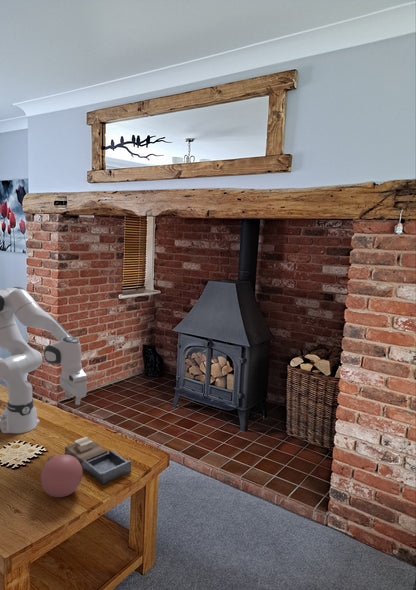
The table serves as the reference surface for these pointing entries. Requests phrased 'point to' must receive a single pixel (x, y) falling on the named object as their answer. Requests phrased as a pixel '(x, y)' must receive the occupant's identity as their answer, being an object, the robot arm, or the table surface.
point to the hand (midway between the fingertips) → (73, 401)
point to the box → (107, 467)
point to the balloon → (61, 475)
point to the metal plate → (85, 452)
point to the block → (83, 444)
